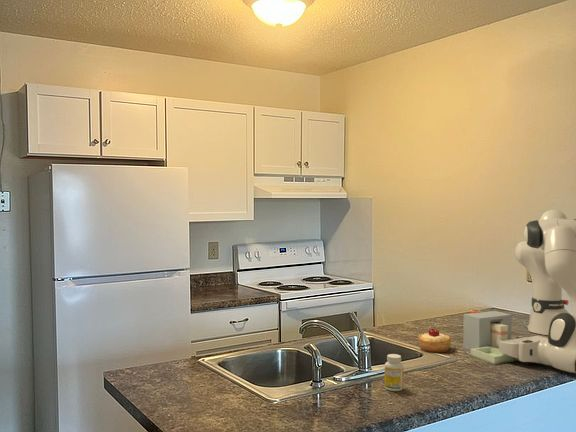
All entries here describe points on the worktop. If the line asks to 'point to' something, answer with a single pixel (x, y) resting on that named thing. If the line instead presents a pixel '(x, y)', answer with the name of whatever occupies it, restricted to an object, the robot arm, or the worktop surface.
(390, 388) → the supplement bottle
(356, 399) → the worktop surface
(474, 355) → the tray
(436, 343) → the pastry
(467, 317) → the dispenser
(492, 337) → the pink striped block
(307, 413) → the worktop surface
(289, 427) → the worktop surface
